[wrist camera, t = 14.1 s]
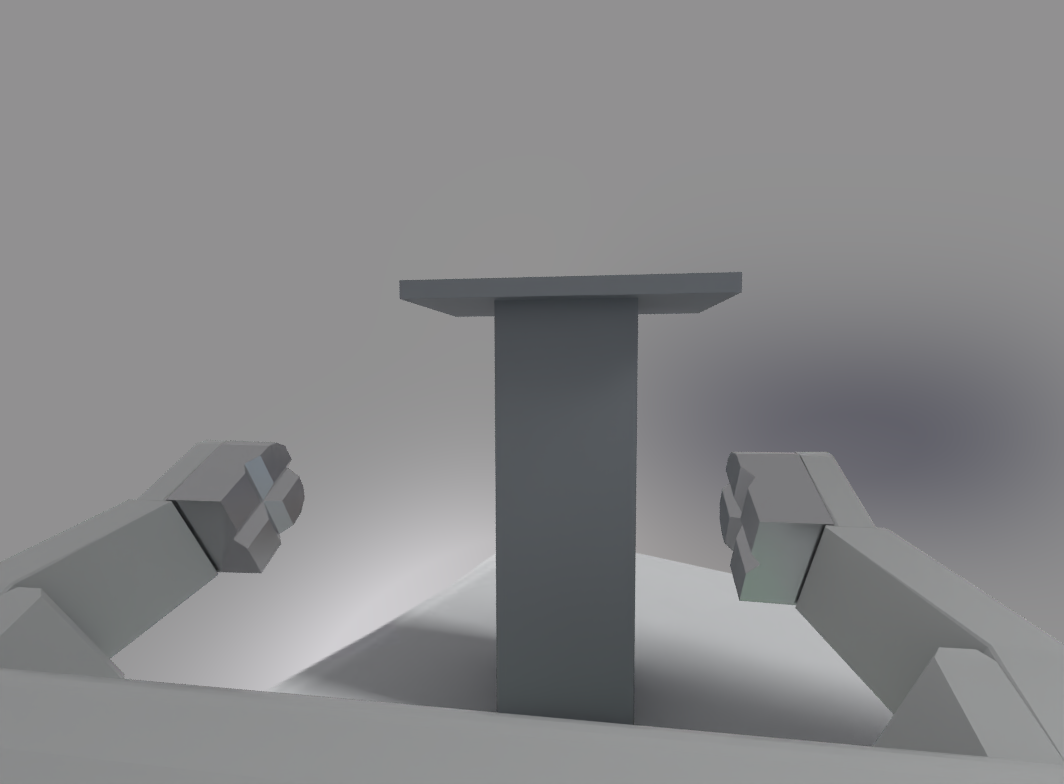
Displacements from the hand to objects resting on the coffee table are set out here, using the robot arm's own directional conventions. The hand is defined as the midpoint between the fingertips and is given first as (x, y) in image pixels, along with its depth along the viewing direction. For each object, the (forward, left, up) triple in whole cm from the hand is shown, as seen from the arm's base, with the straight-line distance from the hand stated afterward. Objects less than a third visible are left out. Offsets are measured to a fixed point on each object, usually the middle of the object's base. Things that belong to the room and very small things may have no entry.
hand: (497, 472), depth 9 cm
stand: (-18, -15, -19) cm, 30 cm away
